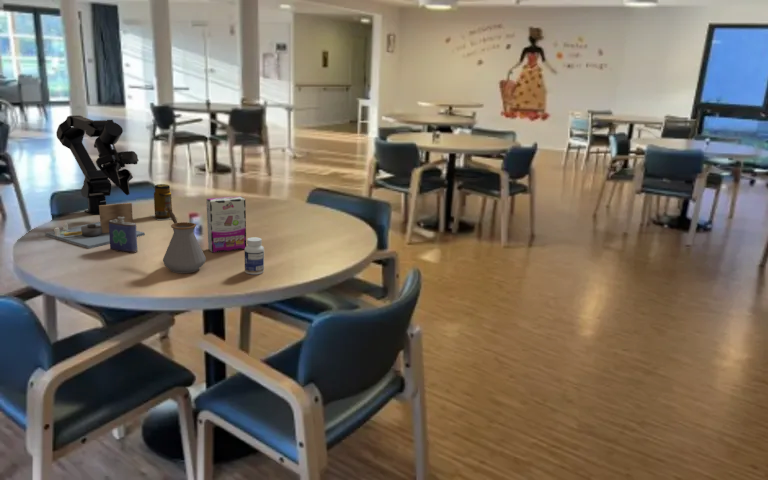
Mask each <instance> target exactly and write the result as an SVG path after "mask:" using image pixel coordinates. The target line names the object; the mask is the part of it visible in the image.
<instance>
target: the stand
mask: <svg viewBox="0 0 768 480" xmlns="http://www.w3.org/2000/svg"><path fill="white" fill-rule="evenodd" d="M88 224H89V223H88ZM88 224H87V223H86V224H82V225H77V226H73V227H69V224H68V223H65V222H64V223H62V229H60V228H59V227H54V229H53V230H52V231H48V232H45V237H46V236H47V237H50V238H53V239H57V240H60V241H63V242H66V243H70V244H74V245H77V246H79V247H83V248H87V249H93V248H97V247H101V246H106V245H110V234H109V232H108V233H102V234H101V235H98V236H83V235H82V234H80V235H71V236H64V233H68V232H78V231H81V227H83V226H86V225H88ZM90 224H96V225H100V221H98V222H92V223H90ZM100 226H101V225H100ZM136 235H137V238H138V236H139V237H142V235H143V236H145V232H143V231H140V230H136Z"/></svg>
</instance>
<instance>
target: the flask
mask: <svg viewBox="0 0 768 480" xmlns="http://www.w3.org/2000/svg"><path fill="white" fill-rule="evenodd" d="M124 218H125V217H118V219H119V220H116V219H115V220H110V221H109V234H110V244H109V249H110V251H114V252H122V253H126V254H127V253H129V254H136V253H138V252H139V251H138V249H139V248H138V241H137V240H138V237H137V235H136V231H137V224H136V223H135V222H133V223H129V222H124Z"/></svg>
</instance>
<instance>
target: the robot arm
mask: <svg viewBox="0 0 768 480" xmlns="http://www.w3.org/2000/svg"><path fill="white" fill-rule="evenodd" d="M123 131H124V130H123V127H122V126H121V125H120V124H119V123H116V122H114V120H113V119H105V120H104V119H101V120H99V119H98V120H97V119H96V120H93V119H91V118H86V117H84V116H83V115H69V116H67V117H66V119H65V120H63V122H61V123H60V124H59V125H58V127H57V130H56V138H57V140H59V142H60V144H61V145H62V146H63V147H65V148H67V149H69V150H70V151H71V153H72V156H73V157H74V159H75V161H76V163H77V164H78V167H79V168H80V170H81V172H82V174H83V176H84V179H83V185H82V187H81V189H80V193H81V196H82V197H83V198H86V199H87V200H86V201H87V209H86V210H84V213H87V214H91V215H100V212H99V205H107V200H106V198H107V196H108V197H109V196H111V191H112V183H113V184H114V185H115V186H116V187H117V188H119V189H120V190H121V191H122V192H123V193H124V195H126V196H129V195H130V193H131V192H130V181H131V180H132V179H133V178H134V176H133V174H132V172H131V171H130V170H129V169H126V168H125V167H126V165H137V164H138V162H139V159H138V154H137V153H136V151H133V150H127V151H118V150H117V149H116V147H115V144H117V143H118V141H119V139H120V137H121V136H122V134H123ZM85 134H86V135H87V136H89V138H96V139H95V140H94V144H93V148H94V149H96V150H97V151H98V155H97V156H98V157H97V158H96V160H95V163H96V165H95V163H94V161H93V160H92V157H91V156H90V154H89V152H88V151H87V149H86V147H85V145H84V143H83V140H84V137H85ZM96 166H97V167H98V169H97V167H96ZM122 168H123V169H122Z"/></svg>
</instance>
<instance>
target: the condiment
mask: <svg viewBox="0 0 768 480" xmlns="http://www.w3.org/2000/svg"><path fill="white" fill-rule="evenodd" d="M153 202H154V203H153V205H154V207H153V208H154V214H151V215H150V217H152V218H153V219H155V220H157V221H168V220H169V219H170V220H172V219H171V217H170V213H169V212H166V211H168V209H167V208H166V207H167V206H169V207H170V208H171V207H172V208H171V210H172V211H173V205H172V202H173V201H172V193H171V185H170V184H167V183H165V184H162V183H159V184H155V185H154V192H153ZM164 209H165V210H164ZM175 218H176V220H178V217H176V216H175Z"/></svg>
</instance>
